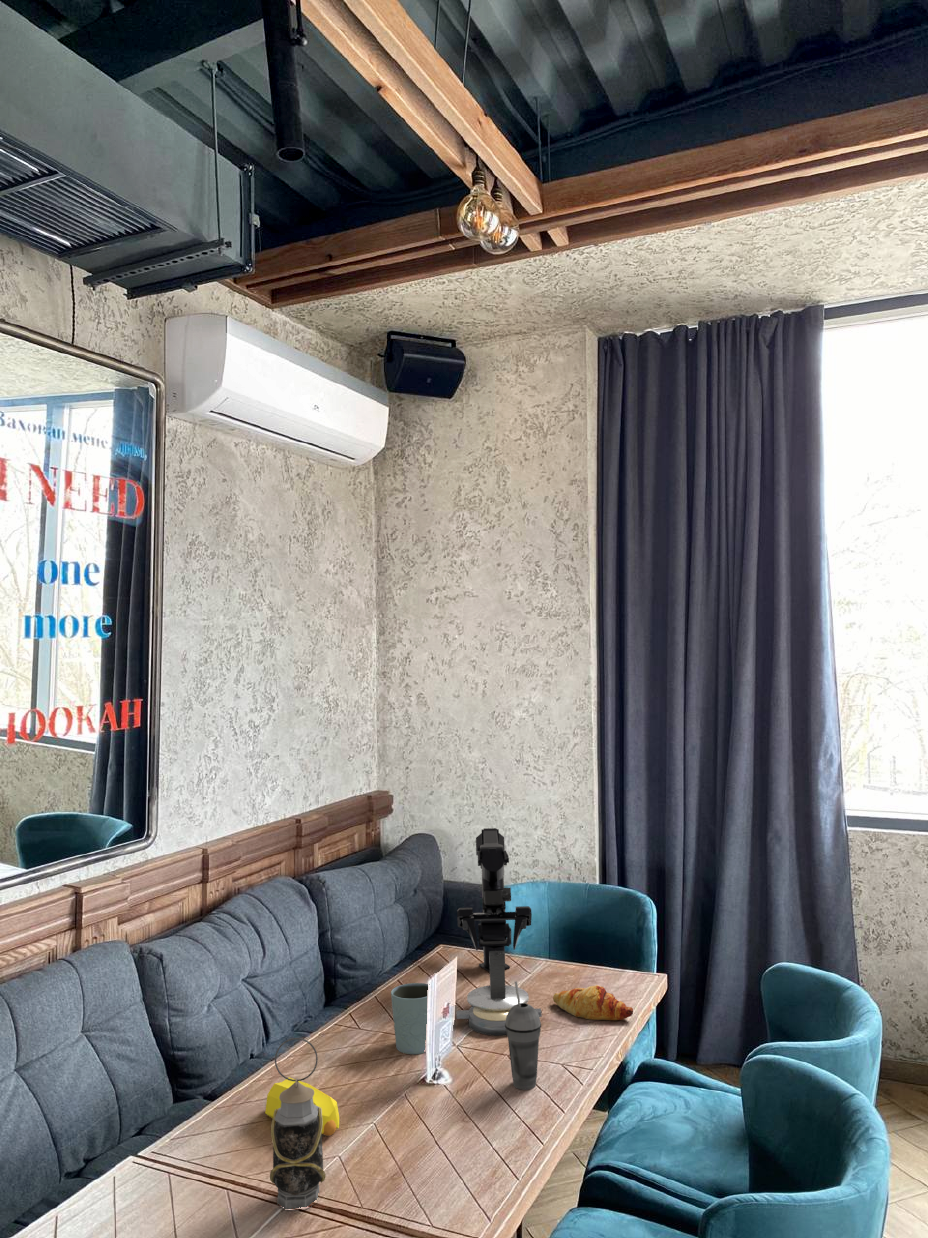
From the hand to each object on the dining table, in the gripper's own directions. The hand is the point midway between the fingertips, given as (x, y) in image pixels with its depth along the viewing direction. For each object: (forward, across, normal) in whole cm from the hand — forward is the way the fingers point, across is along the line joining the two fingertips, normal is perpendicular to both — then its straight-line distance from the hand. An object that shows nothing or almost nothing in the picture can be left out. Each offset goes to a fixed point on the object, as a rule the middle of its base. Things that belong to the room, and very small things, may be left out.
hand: (495, 949), depth 228 cm
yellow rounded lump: (+48, -38, -35) cm, 70 cm away
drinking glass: (+26, -19, -10) cm, 34 cm away
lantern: (+64, -34, -53) cm, 90 cm away
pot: (+19, 0, -2) cm, 19 cm away
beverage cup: (+39, +4, -25) cm, 47 cm away
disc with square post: (+12, 0, 0) cm, 12 cm away
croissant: (+16, +22, +2) cm, 27 cm away
